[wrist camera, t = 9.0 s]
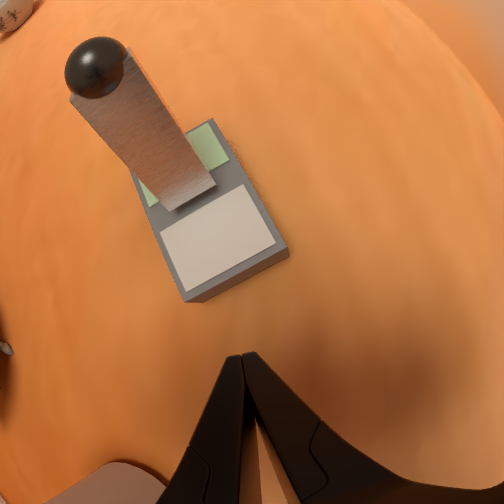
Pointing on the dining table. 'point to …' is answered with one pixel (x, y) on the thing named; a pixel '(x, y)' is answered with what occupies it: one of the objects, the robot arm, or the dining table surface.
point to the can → (113, 487)
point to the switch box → (214, 225)
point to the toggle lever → (135, 120)
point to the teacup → (14, 13)
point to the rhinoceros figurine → (5, 348)
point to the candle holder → (2, 501)
